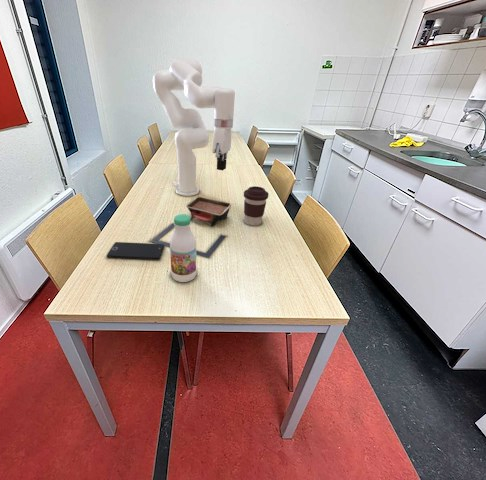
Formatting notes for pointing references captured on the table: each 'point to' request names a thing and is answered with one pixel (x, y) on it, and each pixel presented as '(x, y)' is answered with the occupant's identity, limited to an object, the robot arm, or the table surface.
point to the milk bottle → (183, 250)
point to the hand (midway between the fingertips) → (221, 168)
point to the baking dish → (208, 210)
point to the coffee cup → (254, 205)
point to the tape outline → (207, 254)
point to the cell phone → (136, 250)
